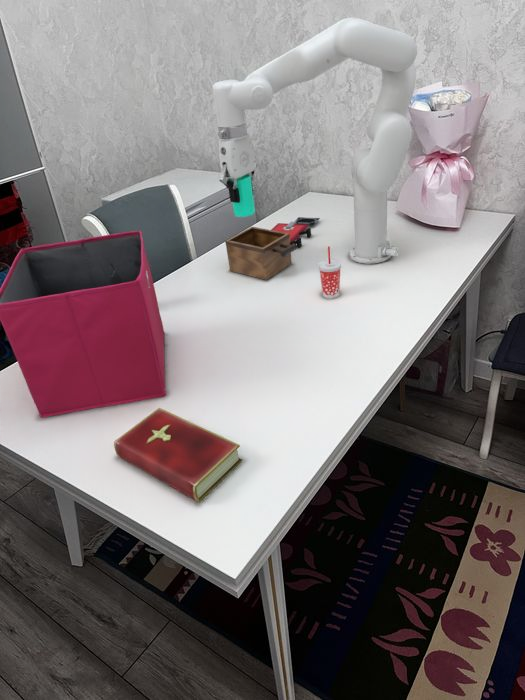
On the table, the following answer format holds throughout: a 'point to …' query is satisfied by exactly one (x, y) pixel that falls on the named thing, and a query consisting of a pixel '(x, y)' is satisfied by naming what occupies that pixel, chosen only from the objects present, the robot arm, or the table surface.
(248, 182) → the candle
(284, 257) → the wooden drawer
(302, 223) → the red board with handle
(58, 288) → the storage bin
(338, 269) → the beverage cup
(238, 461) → the hardcover book
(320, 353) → the table surface
